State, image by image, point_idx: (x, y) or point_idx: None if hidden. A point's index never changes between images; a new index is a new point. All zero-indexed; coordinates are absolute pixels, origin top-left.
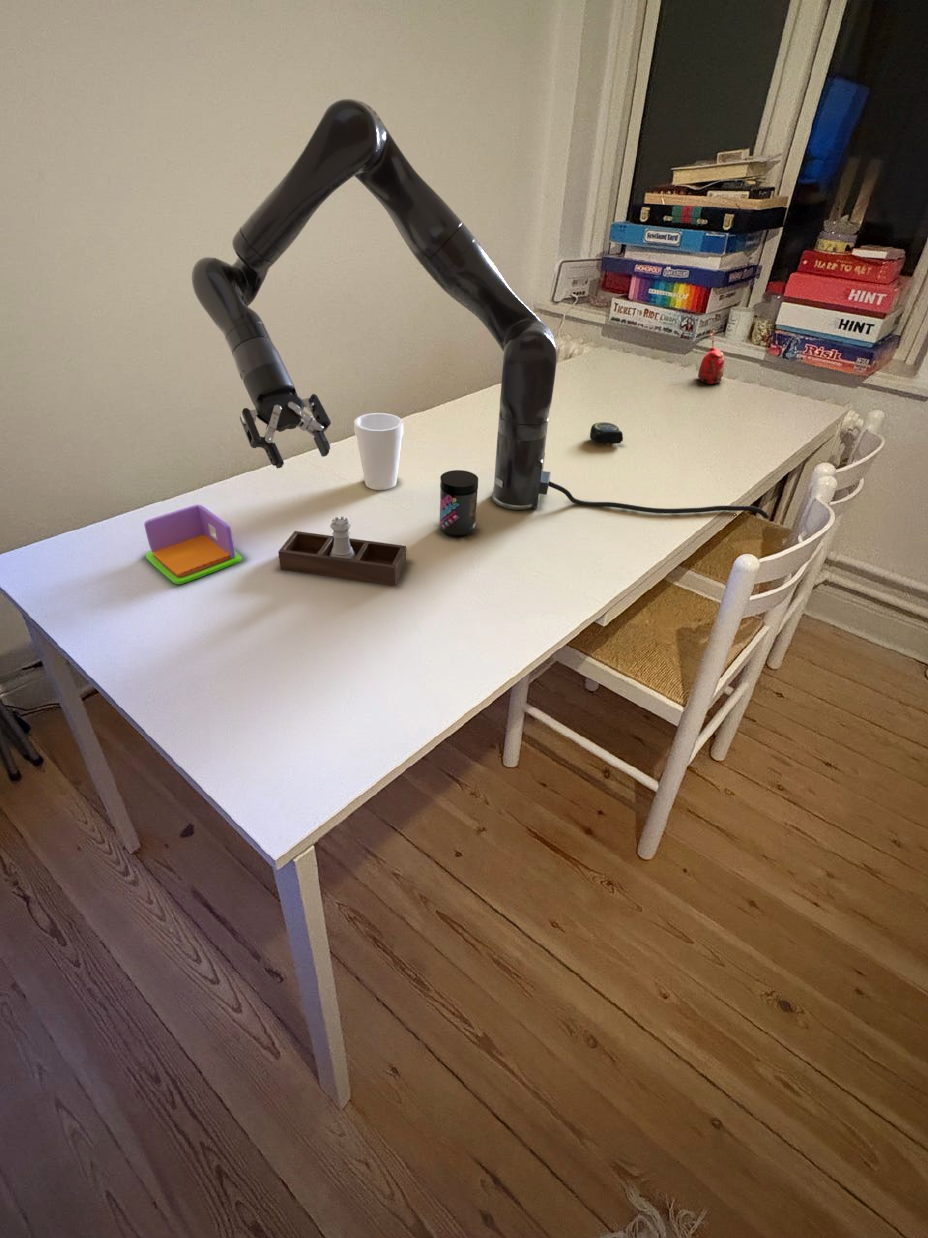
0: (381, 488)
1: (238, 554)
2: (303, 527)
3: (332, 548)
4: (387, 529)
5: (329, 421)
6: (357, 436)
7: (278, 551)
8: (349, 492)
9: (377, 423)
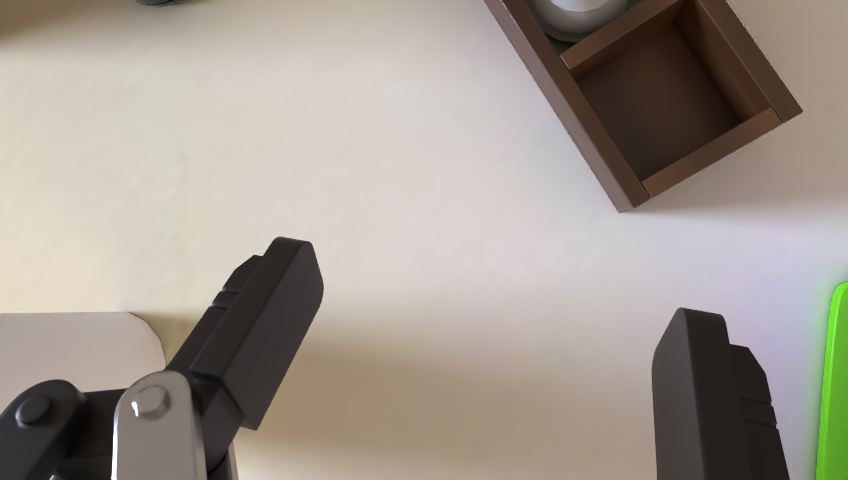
0: (144, 326)
1: (841, 309)
2: (504, 315)
3: (604, 3)
4: (310, 103)
5: (20, 406)
6: None
7: (801, 111)
8: None
9: None
